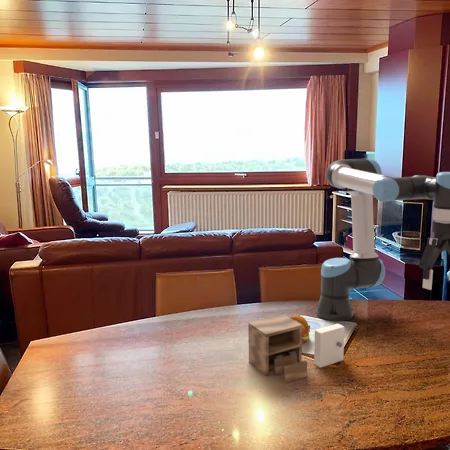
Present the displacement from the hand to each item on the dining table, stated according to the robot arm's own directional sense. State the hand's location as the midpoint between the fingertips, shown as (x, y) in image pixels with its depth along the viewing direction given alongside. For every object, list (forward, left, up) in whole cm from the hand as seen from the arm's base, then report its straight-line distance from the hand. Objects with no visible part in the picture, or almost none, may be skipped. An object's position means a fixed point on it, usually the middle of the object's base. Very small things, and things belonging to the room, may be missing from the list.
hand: (440, 284), depth 145 cm
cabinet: (-20, -49, -25) cm, 59 cm away
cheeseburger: (-34, -32, -26) cm, 53 cm away
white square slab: (-15, -33, -25) cm, 45 cm away
